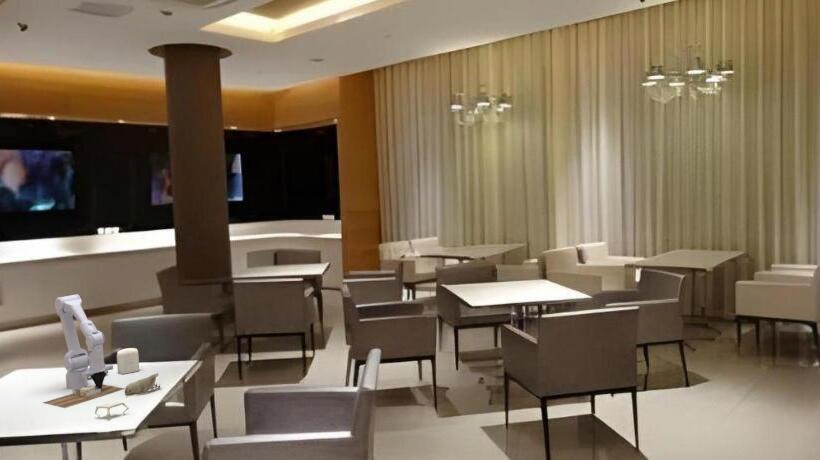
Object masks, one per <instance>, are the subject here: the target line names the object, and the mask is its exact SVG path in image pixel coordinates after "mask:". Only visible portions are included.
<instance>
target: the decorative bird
mask: <svg viewBox="0 0 820 460" xmlns="http://www.w3.org/2000/svg"><path fill="white" fill-rule="evenodd" d="M159 375H160V374H159V372H157V373H154V374H151V375H149V376H148V377H145V378H141V379H138V380H136V381H134V382H130V383H129V384H127V385H126V386H125V389H124V395H125V396H126V397H125V398H128V397H129V396H130V395H132V394H136V395H139V394H140V395H141V394H144V393H145V392H148V391H150V390H152V388H153V387H154V388H155V389H157V390H161V389H160V388H161V384H159V385H158V383H156V379H157V377H158V376H159Z"/></svg>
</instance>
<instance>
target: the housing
mask: <svg viewBox="0 0 820 460" xmlns="http://www.w3.org/2000/svg"><path fill="white" fill-rule="evenodd" d="M85 387H87V386H85ZM82 388H84V387H82ZM80 389H81V388H78V389H72V394H73V396H79V395H80ZM100 394H101V389H100V388H95V389H92V390H89V391H86V392H83V398H86V399H87V398H90V397H93V396H97V395H100Z"/></svg>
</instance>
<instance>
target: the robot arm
mask: <svg viewBox="0 0 820 460" xmlns="http://www.w3.org/2000/svg"><path fill="white" fill-rule="evenodd" d="M82 305H83V301H82V298H81V297H80V295H79V294H77V293H75V294H72V295H66V296H58V297H56V298H55V301H54V307H55V311H56V315H57V316H59V318H60V322H61V326H62V327H61V328H62V331H63V335H64V339H65V342H66V346H67V350H68V351H67V352H66V354H65V355H64V356H63V360H64V368H65V370H66V374H65V383H66V389H67V388H69V389H71V390H75V389H78V388H82V387H85V386H89V383H88V379H87V376H90V377H89V378H91V380H92V381H93V383H94V386H96V385H97V386H98V388H100V389H102V384H104V380H105V377H106V376H107V374H106V372H104V371H108V372H109V371H111V370H114V365H113V364H109V365H105V366H104V363H105V359H104V356H105V355H104V346H103V345H104V344H105V342H106V336H105V335H104V333H103V332H102V331H100V330H98V329H97V327H96V325H95V324H94V323H93V321H92V320H90V319H88V318H87V317H88V316H87V315H86V313H85V310H84V309H83V307H82ZM74 318H75V319H76V320H77V321H78V323H79V324H80V325H79V329H80V331H81V332H82V334H83V336H84V337H85V345H86V346H87V350H88V351H87V350H86V349H84V348H81V345H80V340H79V337H78V333H77V329H76V325H75V321H74ZM88 352H89V355H88ZM90 367H91V370H88V371H87V369H88V368H90Z"/></svg>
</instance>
